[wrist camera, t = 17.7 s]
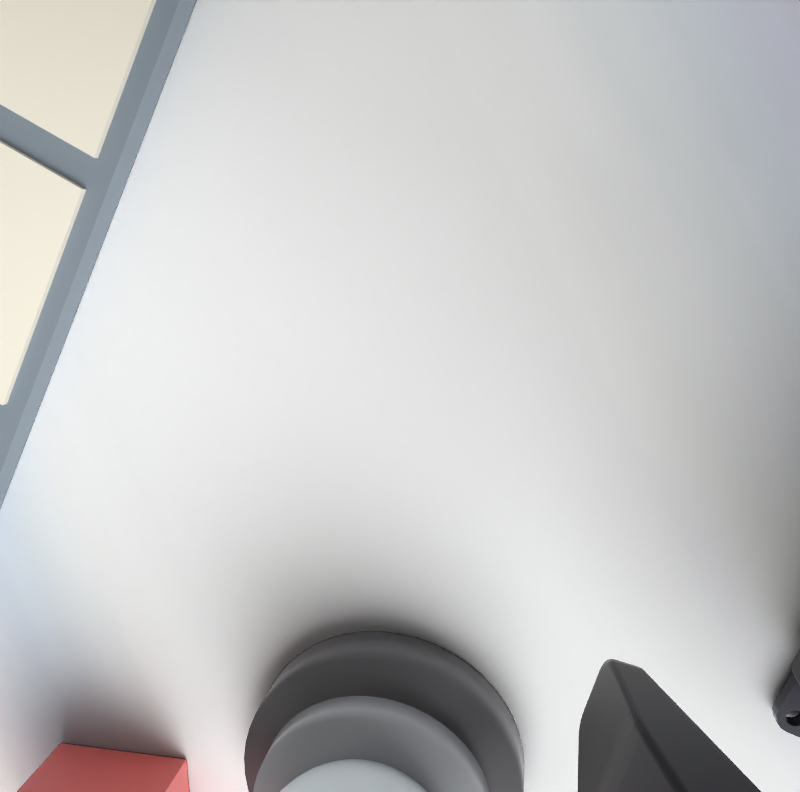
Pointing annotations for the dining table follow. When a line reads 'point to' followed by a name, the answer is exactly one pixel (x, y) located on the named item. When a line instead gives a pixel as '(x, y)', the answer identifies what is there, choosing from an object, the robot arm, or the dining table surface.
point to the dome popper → (368, 751)
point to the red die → (107, 772)
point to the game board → (65, 169)
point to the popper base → (395, 697)
